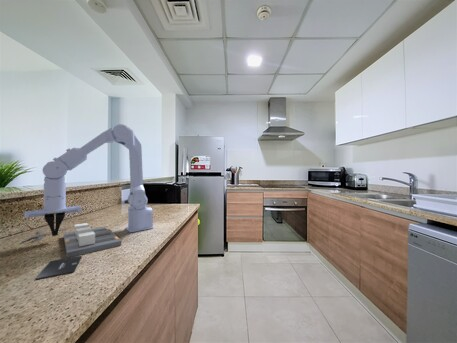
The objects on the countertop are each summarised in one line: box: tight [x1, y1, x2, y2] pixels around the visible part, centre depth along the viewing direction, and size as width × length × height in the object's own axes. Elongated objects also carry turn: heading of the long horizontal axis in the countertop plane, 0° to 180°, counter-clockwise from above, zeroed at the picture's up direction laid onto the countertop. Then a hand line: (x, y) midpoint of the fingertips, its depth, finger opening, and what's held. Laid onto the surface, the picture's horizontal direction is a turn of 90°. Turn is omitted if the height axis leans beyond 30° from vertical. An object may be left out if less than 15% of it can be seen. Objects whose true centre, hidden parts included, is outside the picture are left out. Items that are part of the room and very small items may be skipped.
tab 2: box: [76, 226, 93, 240], centre depth 67 cm, size 4×4×3 cm
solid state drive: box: [35, 255, 82, 281], centre depth 50 cm, size 7×10×1 cm
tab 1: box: [73, 222, 90, 235], centre depth 72 cm, size 4×4×3 cm
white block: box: [78, 232, 95, 247], centre depth 62 cm, size 4×4×3 cm
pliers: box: [21, 225, 71, 244], centre depth 76 cm, size 10×1×20 cm
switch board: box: [63, 225, 122, 258], centre depth 68 cm, size 14×23×2 cm, turn 43°
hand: (54, 235), depth 67 cm, fingers closed
